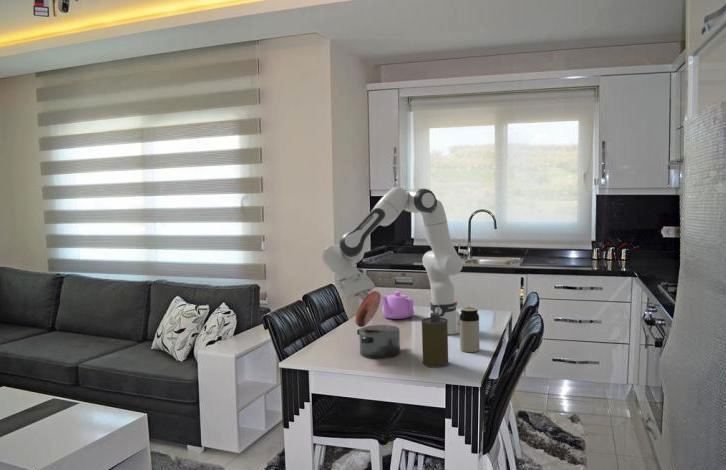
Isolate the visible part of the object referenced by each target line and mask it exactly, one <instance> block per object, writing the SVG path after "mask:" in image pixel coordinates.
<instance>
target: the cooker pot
mask: <svg viewBox="0 0 726 470" xmlns="http://www.w3.org/2000/svg"><path fill="white" fill-rule="evenodd" d="M356 331H357V332H356V333H357V335H358V336H359V337H358V339H359V355H360V356H361V357H364V358H367V359H373V360H374V359H375V360H378V359H380V360H384V359H391V358H395V357H397V356H399V355H400V354H401V339H400V338H401V337H400V328H399V327H398V326H395V325H390V324H389V325H388V324H373V325H371V324H370V325H365V326H363V327H360V328H359V329H357V330H356Z"/></svg>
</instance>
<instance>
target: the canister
mask: <svg viewBox="0 0 726 470" xmlns="http://www.w3.org/2000/svg"><path fill="white" fill-rule="evenodd" d="M430 316H431V317H429V318H428V317H424V318H422V319H421V320H420V321H421V338H422V339H421V341H422V343H421V345H422V348H421V349H422V362H421V363H422V365H423V366H424V367H427V368H433V369H434V368H444V367H447V366H449V365H450V362H449V335H448V326H447V322H448V319H446V318H441V317H439V316H440V315H439V313H431V315H430Z"/></svg>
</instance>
